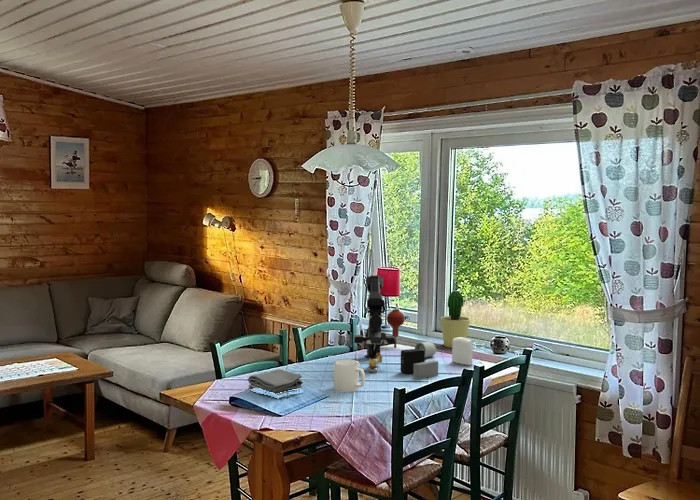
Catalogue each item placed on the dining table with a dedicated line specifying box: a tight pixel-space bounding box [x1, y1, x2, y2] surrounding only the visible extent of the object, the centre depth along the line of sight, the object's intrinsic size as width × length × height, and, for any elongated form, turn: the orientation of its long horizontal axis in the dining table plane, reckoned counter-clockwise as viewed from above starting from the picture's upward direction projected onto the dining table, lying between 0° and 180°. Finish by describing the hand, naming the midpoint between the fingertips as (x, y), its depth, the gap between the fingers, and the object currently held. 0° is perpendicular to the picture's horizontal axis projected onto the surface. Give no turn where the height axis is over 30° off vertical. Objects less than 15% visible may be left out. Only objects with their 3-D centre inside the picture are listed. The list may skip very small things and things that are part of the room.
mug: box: [333, 359, 366, 393], centre depth 276 cm, size 14×10×11 cm
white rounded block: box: [451, 337, 474, 366], centre depth 323 cm, size 10×4×12 cm, turn 44°
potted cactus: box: [440, 290, 471, 349], centre depth 362 cm, size 15×15×30 cm
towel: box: [247, 368, 304, 395], centre depth 270 cm, size 15×18×8 cm
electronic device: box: [399, 348, 426, 375], centre depth 304 cm, size 4×10×10 cm, turn 115°
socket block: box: [412, 359, 439, 380], centre depth 298 cm, size 3×12×6 cm, turn 128°
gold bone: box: [368, 352, 383, 368], centre depth 310 cm, size 14×3×4 cm, turn 163°
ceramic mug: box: [414, 341, 437, 359], centre depth 337 cm, size 11×8×8 cm
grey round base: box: [367, 367, 378, 374], centre depth 305 cm, size 4×4×2 cm
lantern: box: [386, 308, 406, 349], centre depth 356 cm, size 10×10×30 cm
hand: (373, 358), depth 313 cm, fingers closed
